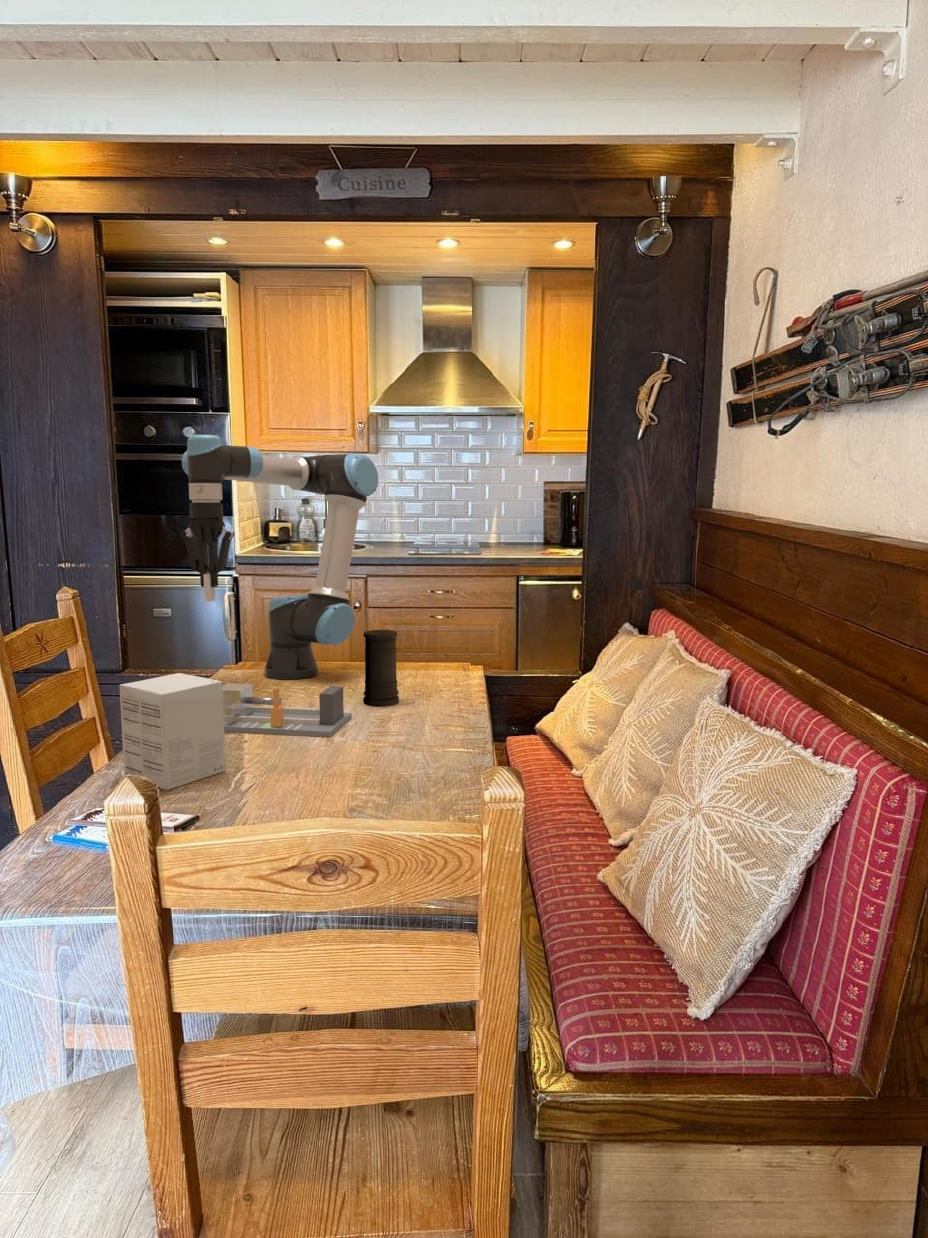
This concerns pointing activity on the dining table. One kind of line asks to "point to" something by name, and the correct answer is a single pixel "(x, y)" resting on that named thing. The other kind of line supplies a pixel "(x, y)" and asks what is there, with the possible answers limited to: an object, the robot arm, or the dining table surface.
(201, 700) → the supplement box
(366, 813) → the dining table surface
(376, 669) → the container
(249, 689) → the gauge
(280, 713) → the orange t-shaped stamp
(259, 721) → the grey slider board
